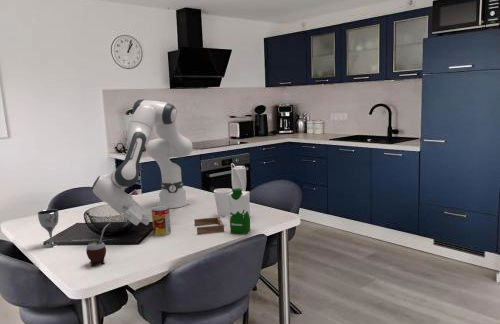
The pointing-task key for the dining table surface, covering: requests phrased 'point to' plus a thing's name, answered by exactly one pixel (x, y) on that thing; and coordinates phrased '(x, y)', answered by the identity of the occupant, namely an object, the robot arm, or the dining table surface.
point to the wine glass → (49, 223)
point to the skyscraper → (239, 177)
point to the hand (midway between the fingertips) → (148, 223)
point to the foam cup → (222, 201)
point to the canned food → (161, 220)
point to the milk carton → (239, 211)
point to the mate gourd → (97, 251)
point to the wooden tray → (209, 228)
